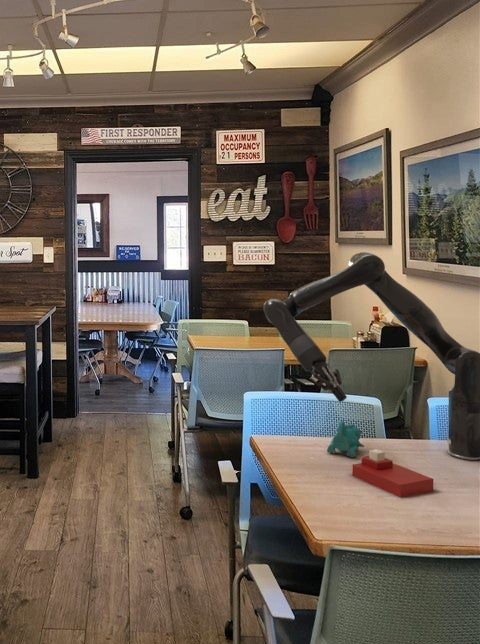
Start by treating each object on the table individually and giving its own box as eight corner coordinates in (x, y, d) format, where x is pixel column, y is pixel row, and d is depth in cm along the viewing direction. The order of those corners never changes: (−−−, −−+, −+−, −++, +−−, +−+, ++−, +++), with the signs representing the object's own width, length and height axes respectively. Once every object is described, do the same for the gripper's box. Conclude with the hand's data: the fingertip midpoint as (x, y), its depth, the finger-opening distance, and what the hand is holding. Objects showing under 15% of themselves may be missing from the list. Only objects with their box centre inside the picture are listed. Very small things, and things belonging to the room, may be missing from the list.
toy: (352, 466, 184) (381, 440, 191) (332, 430, 185) (361, 405, 193) (328, 466, 193) (356, 441, 200) (308, 431, 194) (337, 408, 202)
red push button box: (384, 470, 176) (384, 453, 176) (433, 491, 162) (433, 471, 162) (352, 475, 172) (352, 457, 172) (399, 497, 157) (400, 477, 157)
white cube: (376, 458, 173) (376, 449, 173) (384, 461, 171) (384, 452, 171) (369, 459, 172) (369, 450, 172) (377, 462, 170) (377, 453, 170)
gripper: (302, 346, 184) (339, 395, 174) (326, 343, 192) (364, 389, 182) (286, 361, 188) (322, 410, 178) (311, 357, 196) (347, 403, 186)
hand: (343, 399), depth 180 cm, fingers closed
